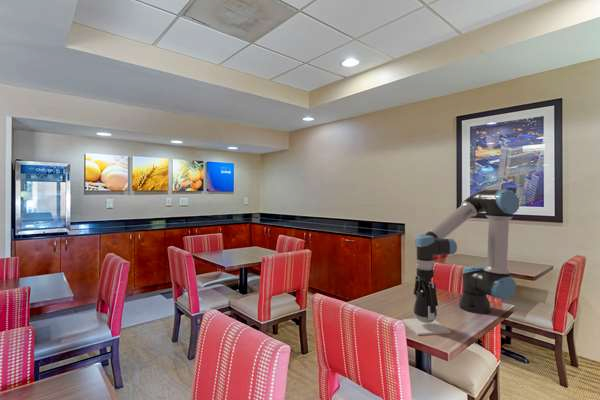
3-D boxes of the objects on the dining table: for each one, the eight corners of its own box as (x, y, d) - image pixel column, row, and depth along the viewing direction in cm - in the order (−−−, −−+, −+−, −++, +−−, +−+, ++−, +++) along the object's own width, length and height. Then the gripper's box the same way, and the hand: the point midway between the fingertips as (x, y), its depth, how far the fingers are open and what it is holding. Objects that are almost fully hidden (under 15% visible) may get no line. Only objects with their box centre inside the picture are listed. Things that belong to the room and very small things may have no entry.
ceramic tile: (431, 319, 160) (431, 317, 160) (450, 332, 144) (450, 331, 144) (401, 321, 158) (401, 319, 158) (417, 335, 142) (417, 333, 142)
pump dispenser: (410, 321, 150) (410, 289, 150) (418, 314, 158) (418, 284, 158) (432, 327, 143) (432, 293, 143) (439, 320, 151) (439, 288, 151)
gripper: (406, 263, 161) (406, 306, 161) (430, 274, 138) (430, 325, 139) (420, 262, 162) (420, 306, 162) (446, 274, 139) (446, 324, 140)
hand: (425, 315), depth 151 cm, fingers closed on pump dispenser, 10 cm apart
